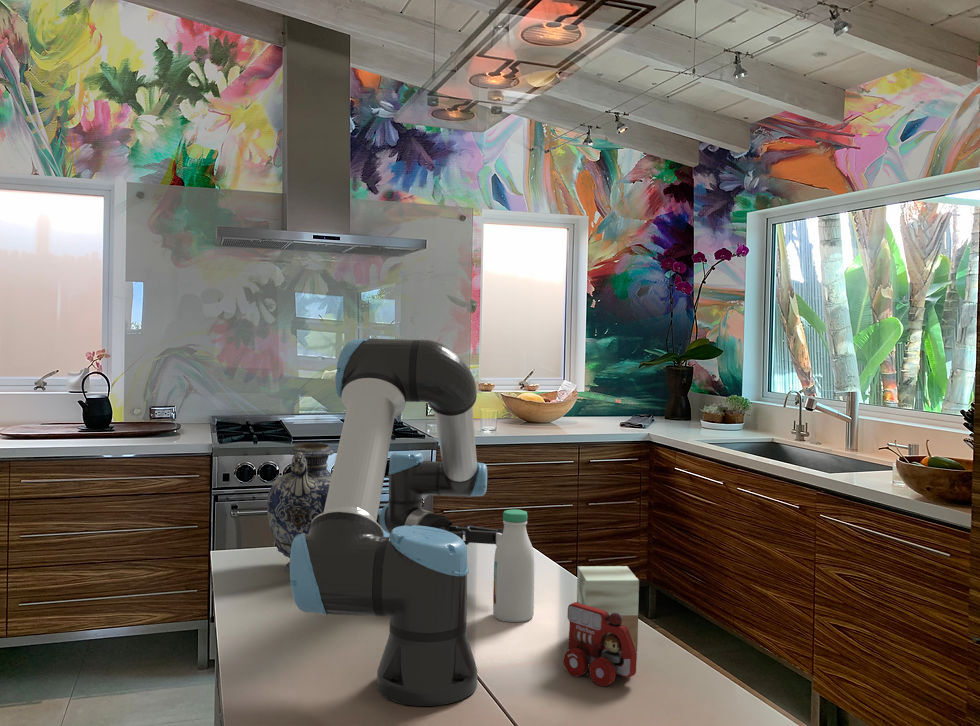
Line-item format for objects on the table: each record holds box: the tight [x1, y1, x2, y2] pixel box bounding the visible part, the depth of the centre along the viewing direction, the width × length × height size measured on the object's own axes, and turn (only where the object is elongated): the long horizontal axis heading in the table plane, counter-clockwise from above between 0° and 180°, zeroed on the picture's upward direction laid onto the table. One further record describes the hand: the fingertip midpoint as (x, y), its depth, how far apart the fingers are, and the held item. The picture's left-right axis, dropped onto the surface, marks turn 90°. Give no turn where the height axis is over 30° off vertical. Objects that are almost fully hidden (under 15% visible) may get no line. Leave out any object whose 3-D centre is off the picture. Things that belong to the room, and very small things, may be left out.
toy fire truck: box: [563, 601, 638, 687], centre depth 128 cm, size 7×12×10 cm, turn 47°
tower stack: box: [576, 565, 640, 651], centre depth 142 cm, size 8×9×12 cm
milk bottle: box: [492, 509, 536, 623], centre depth 154 cm, size 8×8×20 cm
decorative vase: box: [266, 442, 334, 574], centre depth 183 cm, size 21×19×28 cm
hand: (491, 551), depth 160 cm, fingers open, 13 cm apart
